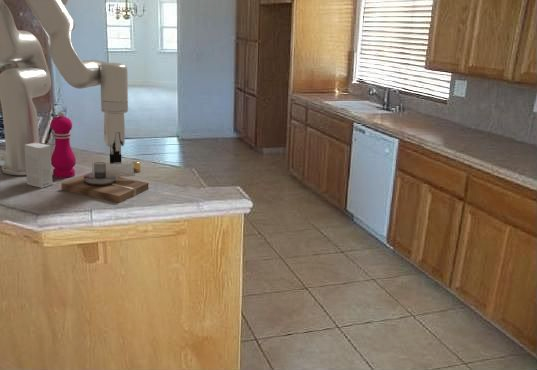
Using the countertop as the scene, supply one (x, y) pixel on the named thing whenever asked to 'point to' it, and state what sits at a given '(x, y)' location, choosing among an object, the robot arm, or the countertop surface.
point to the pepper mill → (62, 147)
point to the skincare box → (38, 165)
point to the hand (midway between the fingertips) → (115, 166)
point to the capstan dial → (110, 172)
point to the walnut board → (107, 188)
